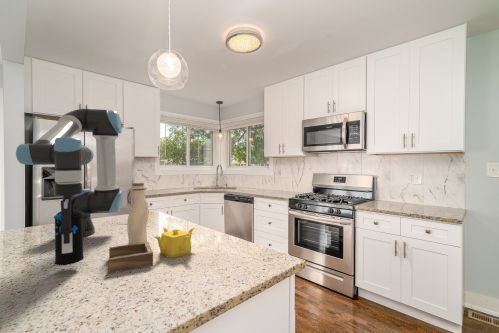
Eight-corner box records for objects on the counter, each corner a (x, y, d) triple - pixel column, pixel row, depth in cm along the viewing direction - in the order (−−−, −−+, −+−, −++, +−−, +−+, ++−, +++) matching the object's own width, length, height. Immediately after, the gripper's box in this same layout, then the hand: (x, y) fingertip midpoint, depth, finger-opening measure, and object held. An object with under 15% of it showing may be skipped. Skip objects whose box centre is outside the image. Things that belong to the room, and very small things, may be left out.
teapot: (163, 246, 108) (163, 225, 108) (195, 246, 109) (195, 225, 109) (151, 259, 93) (151, 234, 93) (189, 259, 94) (189, 234, 94)
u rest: (109, 259, 94) (109, 247, 94) (148, 252, 101) (148, 241, 101) (108, 273, 82) (108, 259, 82) (153, 265, 88) (153, 252, 88)
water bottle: (138, 247, 106) (138, 184, 106) (120, 246, 108) (120, 183, 108) (152, 240, 116) (152, 182, 116) (136, 239, 118) (136, 182, 118)
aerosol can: (64, 256, 88) (64, 201, 87) (88, 255, 89) (88, 201, 88) (48, 266, 80) (47, 205, 79) (74, 265, 80) (73, 205, 80)
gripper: (60, 180, 91) (61, 240, 91) (47, 186, 72) (48, 261, 73) (85, 180, 94) (85, 237, 95) (78, 185, 76) (78, 256, 77)
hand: (69, 248), depth 84 cm, fingers closed on aerosol can, 8 cm apart
